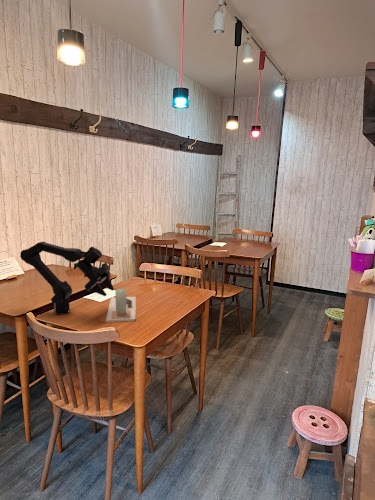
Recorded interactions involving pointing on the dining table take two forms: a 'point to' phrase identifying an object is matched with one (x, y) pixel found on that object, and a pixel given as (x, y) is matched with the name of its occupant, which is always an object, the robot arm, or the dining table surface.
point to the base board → (133, 310)
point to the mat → (120, 316)
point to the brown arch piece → (129, 303)
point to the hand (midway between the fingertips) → (109, 292)
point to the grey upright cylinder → (120, 302)
